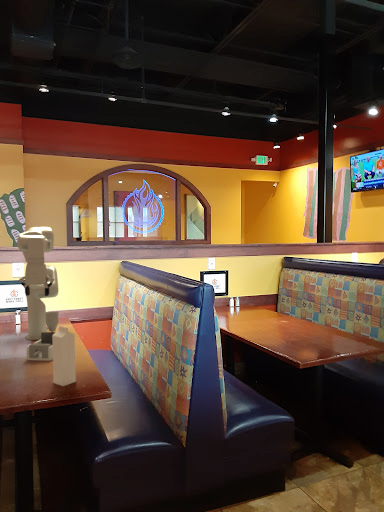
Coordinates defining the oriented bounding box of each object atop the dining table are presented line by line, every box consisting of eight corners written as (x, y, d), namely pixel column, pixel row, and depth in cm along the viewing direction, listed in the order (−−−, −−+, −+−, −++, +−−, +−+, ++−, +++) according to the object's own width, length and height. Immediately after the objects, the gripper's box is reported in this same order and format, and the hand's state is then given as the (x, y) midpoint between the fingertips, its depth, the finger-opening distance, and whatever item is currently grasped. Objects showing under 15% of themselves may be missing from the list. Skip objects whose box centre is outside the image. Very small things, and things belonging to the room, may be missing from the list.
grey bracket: (46, 347, 210) (46, 333, 209) (68, 347, 209) (68, 334, 208) (26, 360, 189) (26, 345, 188) (50, 360, 188) (50, 345, 187)
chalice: (51, 346, 208) (50, 311, 207) (63, 347, 206) (62, 311, 205) (42, 350, 201) (41, 313, 200) (53, 351, 199) (52, 314, 198)
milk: (66, 378, 164) (65, 324, 163) (75, 382, 161) (74, 326, 159) (53, 383, 159) (51, 327, 158) (62, 386, 156) (61, 329, 155)
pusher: (42, 349, 202) (42, 332, 201) (59, 349, 201) (58, 332, 200) (25, 360, 185) (25, 341, 184) (43, 360, 184) (43, 341, 183)
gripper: (15, 262, 199) (16, 296, 201) (50, 262, 199) (51, 297, 200) (22, 260, 207) (23, 294, 208) (56, 260, 206) (57, 294, 208)
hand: (37, 295), depth 204 cm, fingers open, 9 cm apart
